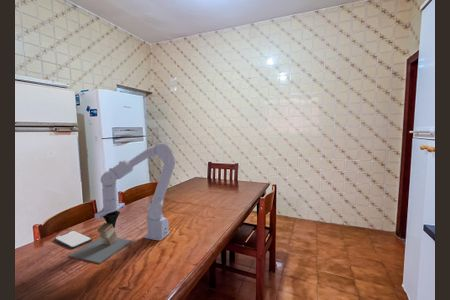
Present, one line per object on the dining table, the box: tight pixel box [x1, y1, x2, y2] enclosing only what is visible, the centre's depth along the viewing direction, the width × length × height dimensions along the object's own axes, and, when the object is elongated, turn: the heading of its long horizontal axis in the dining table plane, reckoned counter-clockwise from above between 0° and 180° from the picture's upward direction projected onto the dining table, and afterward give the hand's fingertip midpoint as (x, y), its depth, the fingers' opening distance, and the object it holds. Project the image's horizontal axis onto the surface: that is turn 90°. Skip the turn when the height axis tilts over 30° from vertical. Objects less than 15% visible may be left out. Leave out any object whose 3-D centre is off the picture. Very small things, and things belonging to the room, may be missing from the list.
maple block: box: [97, 222, 118, 245], centre depth 94 cm, size 4×4×8 cm
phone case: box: [53, 230, 93, 250], centre depth 98 cm, size 9×2×16 cm
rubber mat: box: [68, 236, 133, 265], centre depth 91 cm, size 16×17×1 cm
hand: (111, 228), depth 96 cm, fingers closed
